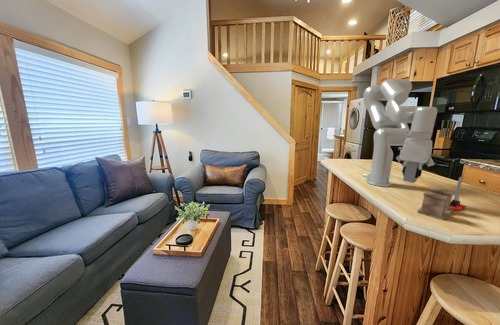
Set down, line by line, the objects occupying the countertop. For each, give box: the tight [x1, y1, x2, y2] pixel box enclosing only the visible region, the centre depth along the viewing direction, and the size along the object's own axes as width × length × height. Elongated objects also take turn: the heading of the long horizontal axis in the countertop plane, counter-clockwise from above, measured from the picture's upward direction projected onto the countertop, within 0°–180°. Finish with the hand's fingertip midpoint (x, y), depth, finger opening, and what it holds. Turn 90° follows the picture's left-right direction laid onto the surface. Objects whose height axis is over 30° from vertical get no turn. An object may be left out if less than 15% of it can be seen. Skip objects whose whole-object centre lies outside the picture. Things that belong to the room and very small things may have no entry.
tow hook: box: [449, 176, 467, 212], centre depth 88 cm, size 8×13×9 cm
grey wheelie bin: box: [402, 161, 419, 184], centre depth 95 cm, size 5×5×10 cm
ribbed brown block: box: [417, 187, 455, 221], centre depth 83 cm, size 8×14×8 cm, turn 128°
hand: (410, 175), depth 96 cm, fingers closed on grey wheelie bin, 4 cm apart
